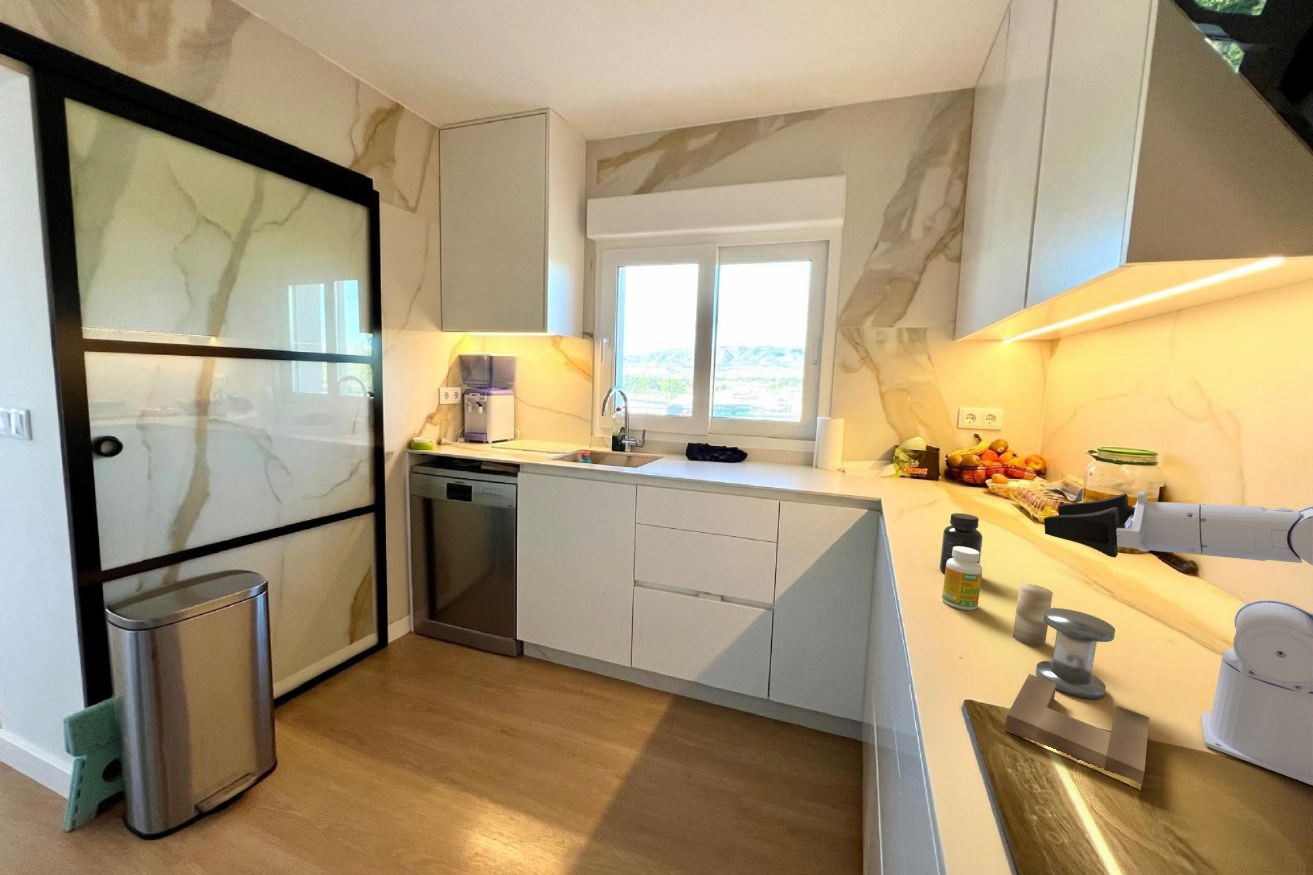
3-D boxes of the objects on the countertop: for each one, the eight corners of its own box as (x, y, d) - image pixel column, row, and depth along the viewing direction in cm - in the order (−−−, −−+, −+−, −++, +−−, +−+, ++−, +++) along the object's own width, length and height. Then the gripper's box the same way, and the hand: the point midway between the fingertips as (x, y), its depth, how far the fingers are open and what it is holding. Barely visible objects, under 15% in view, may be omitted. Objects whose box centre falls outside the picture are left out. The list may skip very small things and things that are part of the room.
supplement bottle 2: (959, 611, 87) (966, 556, 86) (934, 598, 92) (940, 545, 91) (985, 609, 89) (992, 554, 87) (959, 596, 94) (965, 544, 93)
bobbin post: (1107, 684, 67) (1117, 622, 66) (1101, 707, 62) (1112, 640, 61) (1040, 661, 72) (1049, 603, 71) (1031, 680, 67) (1040, 618, 66)
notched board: (1146, 733, 58) (1149, 717, 58) (1141, 790, 49) (1144, 771, 49) (1027, 688, 65) (1029, 673, 65) (1004, 731, 57) (1007, 714, 57)
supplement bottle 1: (945, 565, 110) (952, 509, 109) (982, 575, 105) (990, 517, 104) (933, 572, 105) (940, 514, 104) (971, 583, 101) (979, 522, 99)
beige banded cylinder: (1047, 640, 79) (1054, 590, 78) (1042, 649, 76) (1050, 597, 75) (1015, 630, 81) (1022, 581, 80) (1009, 638, 79) (1017, 588, 78)
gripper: (1202, 483, 63) (1063, 480, 73) (1195, 506, 54) (1036, 499, 64) (1205, 540, 63) (1066, 529, 74) (1199, 574, 54) (1039, 555, 64)
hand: (1052, 519), depth 69 cm, fingers open, 7 cm apart
